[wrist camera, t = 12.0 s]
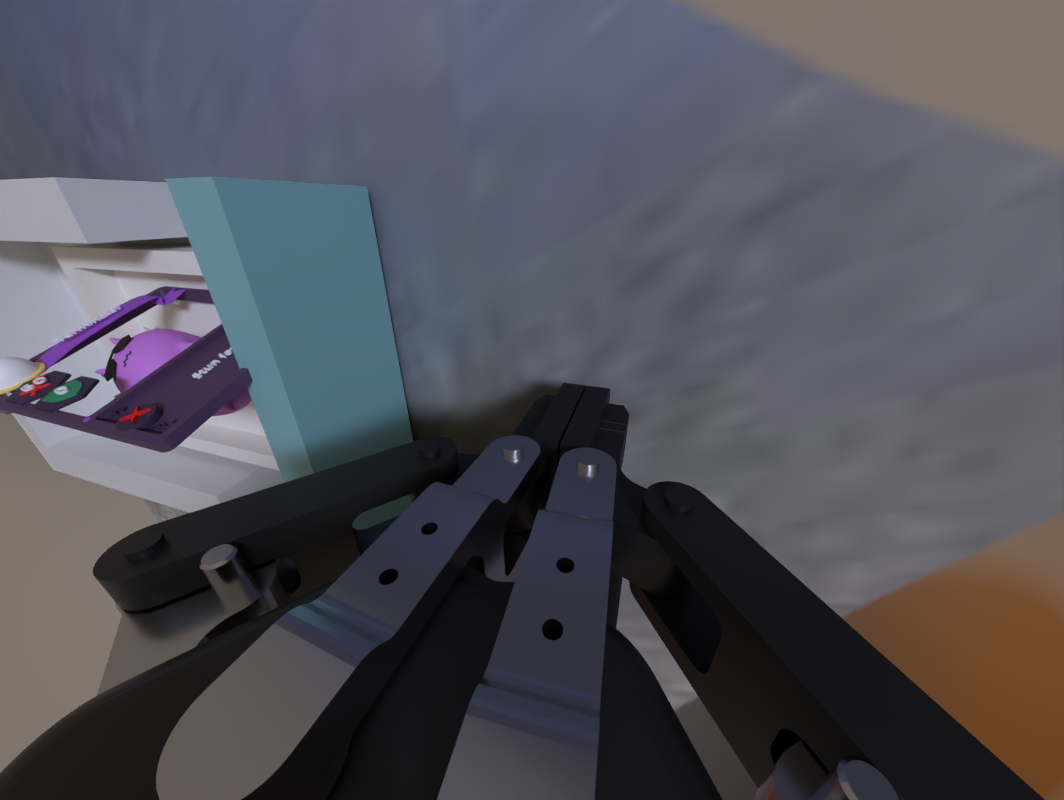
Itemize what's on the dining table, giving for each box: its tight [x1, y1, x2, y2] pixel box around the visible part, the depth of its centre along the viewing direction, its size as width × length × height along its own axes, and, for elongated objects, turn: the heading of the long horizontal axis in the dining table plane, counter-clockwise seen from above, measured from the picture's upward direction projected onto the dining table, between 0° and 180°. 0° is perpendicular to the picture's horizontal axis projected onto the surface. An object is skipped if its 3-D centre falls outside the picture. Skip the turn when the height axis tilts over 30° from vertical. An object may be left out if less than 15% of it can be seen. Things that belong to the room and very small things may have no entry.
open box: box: [0, 177, 284, 513], centre depth 18 cm, size 14×14×5 cm
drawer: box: [50, 177, 413, 530], centre depth 16 cm, size 14×14×5 cm
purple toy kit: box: [0, 286, 253, 453], centre depth 14 cm, size 7×5×9 cm
